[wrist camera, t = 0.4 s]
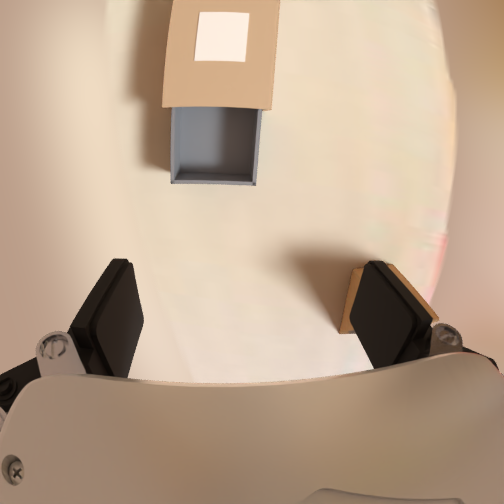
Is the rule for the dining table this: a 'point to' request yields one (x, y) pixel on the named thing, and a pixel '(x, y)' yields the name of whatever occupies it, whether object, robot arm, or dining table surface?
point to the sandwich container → (353, 287)
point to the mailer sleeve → (221, 54)
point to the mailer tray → (215, 145)
